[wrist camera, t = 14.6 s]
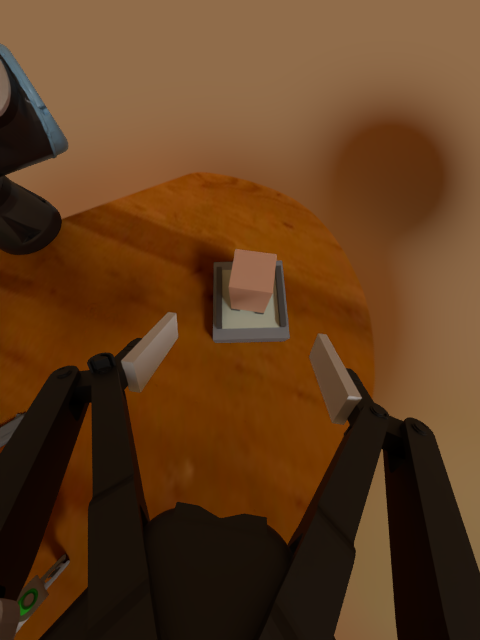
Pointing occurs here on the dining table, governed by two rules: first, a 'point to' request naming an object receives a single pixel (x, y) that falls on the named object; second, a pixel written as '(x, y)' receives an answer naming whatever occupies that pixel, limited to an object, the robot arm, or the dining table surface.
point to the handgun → (9, 429)
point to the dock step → (248, 312)
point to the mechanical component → (37, 591)
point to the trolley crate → (252, 280)
